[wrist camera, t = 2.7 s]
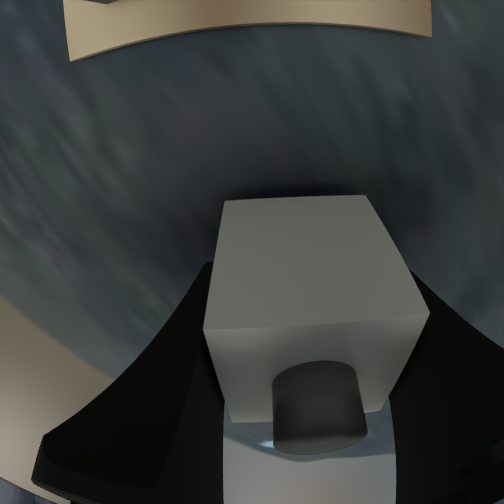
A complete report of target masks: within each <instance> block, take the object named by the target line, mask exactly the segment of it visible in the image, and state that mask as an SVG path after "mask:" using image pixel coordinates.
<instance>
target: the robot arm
mask: <svg viewBox="0 0 504 504" xmlns="http://www.w3.org/2000/svg"><path fill="white" fill-rule="evenodd" d="M213 264H214V262H206V263H205V264H204V265H203V267H202V269H201V270H200V272H199V274H198V275H197V277H196V279H195V280H194V282H193V284H192V285H191V287H190V288H189V290H188V292H187V293H186V295H185V296H184V298H183V299H182V301H181V302H180V304H179V305H178V307H177V308H176V310H175V311H174V312H173V314H172V315H171V317H170V318H169V319H168V321H167V322H166V323H165V325H164V326H163V327H162V329H161V330H160V331H159V332H158V334H157V335H156V336H155V338H154V339H153V340H152V341H151V343H150V344H149V345H148V346H147V347H146V348H145V350H144V351H143V352H142V353H141V354H140V355H139V356H138V357H137V359H136V360H135V361H134V362H133V363H132V364H131V365H130V366H129V367H128V368H127V369H126V370H125V371H124V372H123V373H122V374H121V375H120V376H119V377H118V378H117V379H116V380H115V381H114V382H113V383H112V384H111V385H110V386H109V387H108V388H106V389H105V390H104V391H103V392H102V393H101V394H99V395H98V396H97V397H96V398H95V399H93V400H92V401H91V402H90V403H89V404H88V405H86V406H85V407H84V408H83V409H81V410H80V411H79V412H77V413H76V414H75V415H74V416H72V417H71V418H69V419H68V420H66V421H65V422H64V423H62V424H60V425H59V426H57V427H56V428H54V429H53V430H51V431H50V432H48V433H47V434H45V435H44V436H43V438H42V441H41V445H40V447H39V451H38V454H37V458H36V462H35V465H34V469H33V473H32V478H31V480H32V482H33V483H34V484H35V485H37V486H39V487H41V488H43V489H45V490H47V491H49V492H51V493H54V494H56V495H58V496H60V497H62V498H65V499H67V500H70V501H71V503H70V504H223V503H224V501H223V421H224V403H225V400H224V396H223V393H222V390H221V387H220V384H219V381H218V378H217V374H216V371H215V368H214V365H213V361H212V358H211V355H210V352H209V348H208V345H207V341H206V338H205V334H204V331H203V326H204V320H205V313H206V307H207V300H208V294H209V288H210V282H211V276H212V270H213ZM407 268H408V267H407ZM408 270H409V271H410V273H411V275H412V277H413V279H414V281H415V283H416V285H417V287H418V289H419V291H420V293H421V295H422V297H423V299H424V301H425V303H426V305H427V307H428V309H429V312H430V314H429V316H428V319H427V321H426V323H425V325H424V328H423V330H422V332H421V334H420V336H419V338H418V340H417V343H416V345H415V347H414V349H413V351H412V353H411V355H410V357H409V359H408V361H407V363H406V365H405V367H404V369H403V370H402V372H401V374H400V376H399V378H398V380H397V382H396V383H395V385H394V387H393V389H392V391H391V392H390V394H389V400H390V407H391V414H392V421H393V429H394V439H395V451H396V473H397V475H396V480H397V481H396V504H504V349H503V348H502V347H500V346H499V345H497V344H496V343H494V342H493V341H492V340H490V339H489V338H487V337H486V336H485V335H483V334H482V333H481V332H480V331H478V330H477V329H476V328H474V327H473V326H472V325H471V324H469V323H468V322H467V321H466V320H464V319H463V318H462V317H461V316H460V315H459V314H457V313H456V312H455V311H454V310H453V309H452V308H451V307H449V306H448V305H447V304H446V303H445V302H444V301H443V300H442V299H440V298H439V297H438V296H437V295H436V294H435V293H434V292H433V291H432V290H431V289H430V288H429V287H428V286H426V285H425V284H424V283H423V282H422V281H421V280H420V279H419V278H418V277H417V276H416V275H415V274H414V273H413V272H412V271H411V270H410V269H409V268H408ZM0 504H57V503H54V502H52V501H49V500H47V499H44V498H42V497H40V496H38V495H36V494H33V493H31V492H29V491H27V490H25V489H23V488H21V487H19V486H17V485H15V484H13V483H11V482H9V481H7V480H5V479H3V478H1V477H0Z"/></svg>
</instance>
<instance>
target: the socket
mask: <svg viewBox="0 0 504 504" xmlns="http://www.w3.org/2000/svg"><path fill="white" fill-rule="evenodd" d="M63 3H64V15H65V25H66V34H67V42H68V50H69V57H70V61H75V60H80V59H84V58H87V57H90V56H93V55H96V54H100V53H103V52H106V51H109V50H113V49H116V48H120V47H124V46H128V45H131V44H135V43H140V42H144V41H148V40H153V39H157V38H162V37H167V36H172V35H178V34H184V33H190V32H196V31H203V30H211V29H219V28H228V27H239V26H253V25H274V24H314V25H335V26H349V27H359V28H369V29H377V30H384V31H391V32H397V33H403V34H409V35H414V36H419V37H432V18H431V0H63Z"/></svg>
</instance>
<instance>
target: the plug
mask: <svg viewBox="0 0 504 504" xmlns="http://www.w3.org/2000/svg"><path fill="white" fill-rule="evenodd" d="M429 314H430V312H429V309H428V307H427V305H426V303H425V301H424V299H423V297H422V295H421V293H420V291H419V289H418V287H417V285H416V283H415V281H414V279H413V277H412V275H411V273H410V271H409V270H408V268H407V266H406V264H405V262H404V260H403V258H402V256H401V255H400V253H399V251H398V249H397V247H396V246H395V244H394V242H393V240H392V239H391V237H390V235H389V233H388V232H387V230H386V228H385V226H384V225H383V223H382V221H381V220H380V218H379V216H378V215H377V213H376V211H375V210H374V208H373V207H372V205H371V203H370V202H369V200H368V199H367V197H366V195H341V196H308V197H284V198H264V199H247V200H231V201H225V202H224V207H223V213H222V218H221V224H220V229H219V235H218V241H217V246H216V252H215V258H214V264H213V270H212V276H211V282H210V288H209V294H208V300H207V307H206V313H205V320H204V326H203V331H204V334H205V338H206V341H207V345H208V348H209V352H210V355H211V358H212V361H213V365H214V368H215V371H216V374H217V378H218V381H219V384H220V387H221V390H222V393H223V396H224V400H225V403H226V406H227V409H228V412H229V415H230V418H231V420H232V422H273V446H274V448H275V449H277V450H278V451H281V452H284V453H288V454H297V455H312V454H322V453H328V452H333V451H337V450H340V449H344V448H347V447H349V446H352V445H354V444H356V443H358V442H359V441H361V440H362V439H363V438H365V436H366V435H367V432H368V431H367V425H366V420H365V414H364V413H367V412H373V411H379V410H380V409H381V408H382V406H383V404H384V403H385V401H386V399H387V398H388V396H389V394H390V392H391V391H392V389H393V387H394V385H395V383H396V382H397V380H398V378H399V376H400V374H401V372H402V370H403V369H404V367H405V365H406V363H407V361H408V359H409V357H410V355H411V353H412V351H413V349H414V347H415V345H416V343H417V340H418V338H419V336H420V334H421V332H422V330H423V328H424V325H425V323H426V321H427V319H428V316H429Z"/></svg>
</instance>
